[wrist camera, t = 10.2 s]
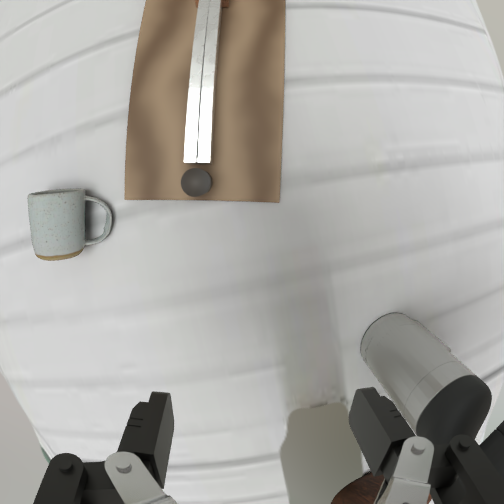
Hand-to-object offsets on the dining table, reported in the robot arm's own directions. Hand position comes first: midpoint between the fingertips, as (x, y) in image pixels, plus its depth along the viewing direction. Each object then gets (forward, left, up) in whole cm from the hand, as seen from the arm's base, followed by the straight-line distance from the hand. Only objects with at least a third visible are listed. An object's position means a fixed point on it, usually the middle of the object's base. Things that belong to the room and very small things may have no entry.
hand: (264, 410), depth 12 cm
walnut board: (+5, -23, -26) cm, 35 cm away
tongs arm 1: (+4, -23, -25) cm, 34 cm away
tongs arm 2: (+6, -23, -25) cm, 34 cm away
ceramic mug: (+21, -5, -26) cm, 34 cm away
